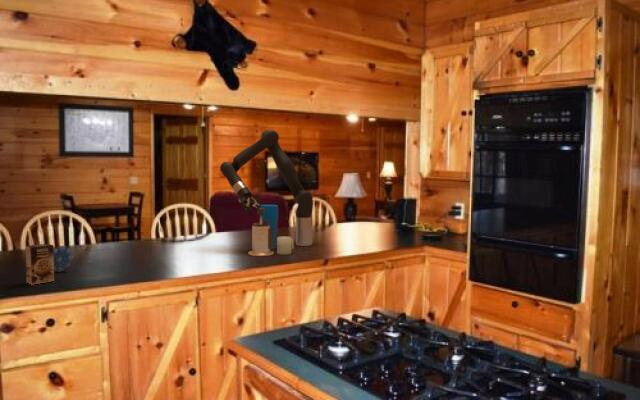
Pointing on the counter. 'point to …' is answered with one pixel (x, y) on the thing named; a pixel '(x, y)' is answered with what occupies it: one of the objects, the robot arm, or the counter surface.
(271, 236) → the beige cylinder with base
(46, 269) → the coffee box
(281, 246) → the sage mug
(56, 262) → the grapes
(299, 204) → the robot arm
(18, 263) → the counter surface
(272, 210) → the blue tapered block
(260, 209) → the plunger
